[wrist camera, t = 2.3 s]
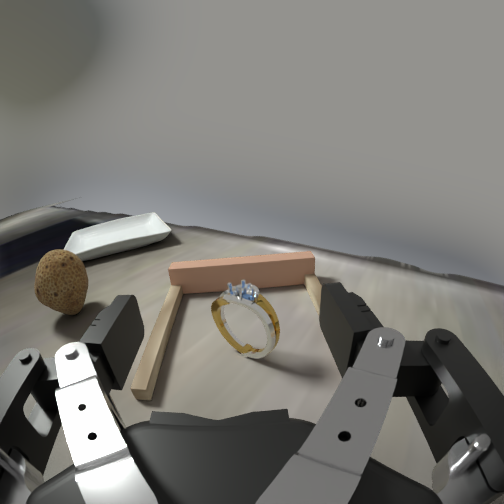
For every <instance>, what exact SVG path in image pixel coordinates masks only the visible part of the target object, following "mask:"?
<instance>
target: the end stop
mask: <svg viewBox="0 0 504 504" xmlns="http://www.w3.org/2000/svg"><path fill="white" fill-rule="evenodd" d="M168 271H169V276H170V281H171V285H182V290H183V294H188V293H204V292H218V291H226V290H227V289H228V285H227V284H228V283H232V286H236V285H240V284H241V280H245V281H246V284H248V283H251V284H252V285H254V286H256V287H257V288H268V287H279V286H289V285H300V284H304V275H306V274H315V257H314V255H313V254H312V252H311V251H306V252H294V253H282V254H270V255H258V256H246V257H233V258H221V259H209V260H196V261H183V262H172V263H171V265H170V267H169V269H168Z"/></svg>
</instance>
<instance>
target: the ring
mask: <svg viewBox="0 0 504 504" xmlns="http://www.w3.org/2000/svg"><path fill="white" fill-rule="evenodd" d="M227 285H228V289H227V290H226V291H224V292H223V293H222V294H221V295H220V297H219V298H218V299H216V300H215V301H214V302H213V303H212V306H211V311H212V316H213V319H214V321H215V323H216V325H217V327H218V329H219V331H220V332H221V334H222V335H223V337H224V338H225V339H226V340H227V341H228V343H229V344H230V345H231V346H233V347H234V348H235V349H236V350H237V351H239V352H240V353H241V355H242V356H244V357H246V358H247V357H250V358H256V359H258V358H262V357H264V356H266V355H267V354H269V353H270V352H271V351H272V350H273V349H274V348H275V347H276V345H277V343H278V340H279V334H280V327H279V321H278V318H277V315H276V313H275V311H274V309H273V307H272V306H271V304H270V303H269V302H268V301H267V300H266V299H265V298H264V297H263V296H262V295H261V294H259V289H258V288H257V287H256V286H254V285H252V284H251V283H248V284H246V281H245V280H241V284H240V285H236V286H232V283H228V284H227ZM229 303H234V304H237V305H240V306H243V307H245V308H247V309H249V310H251V311H252V312H254V313H255V314H256V315H257V316H258V317H259V318H260V320H261V321H262V323H263V325H264V328H265V330H266V334H267V344H266V347H265V348H263V349H254V348H252V346H251V345H249V344H246V345H245V344H243V343H242V342H241V341H240V340H239V339H237V338H236V336H235V335H234V334H233V333H232V331H231V330H230V328H229V326H228V324H227V322H226V319H225V315H224V306H225V305H227V304H229Z"/></svg>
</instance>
